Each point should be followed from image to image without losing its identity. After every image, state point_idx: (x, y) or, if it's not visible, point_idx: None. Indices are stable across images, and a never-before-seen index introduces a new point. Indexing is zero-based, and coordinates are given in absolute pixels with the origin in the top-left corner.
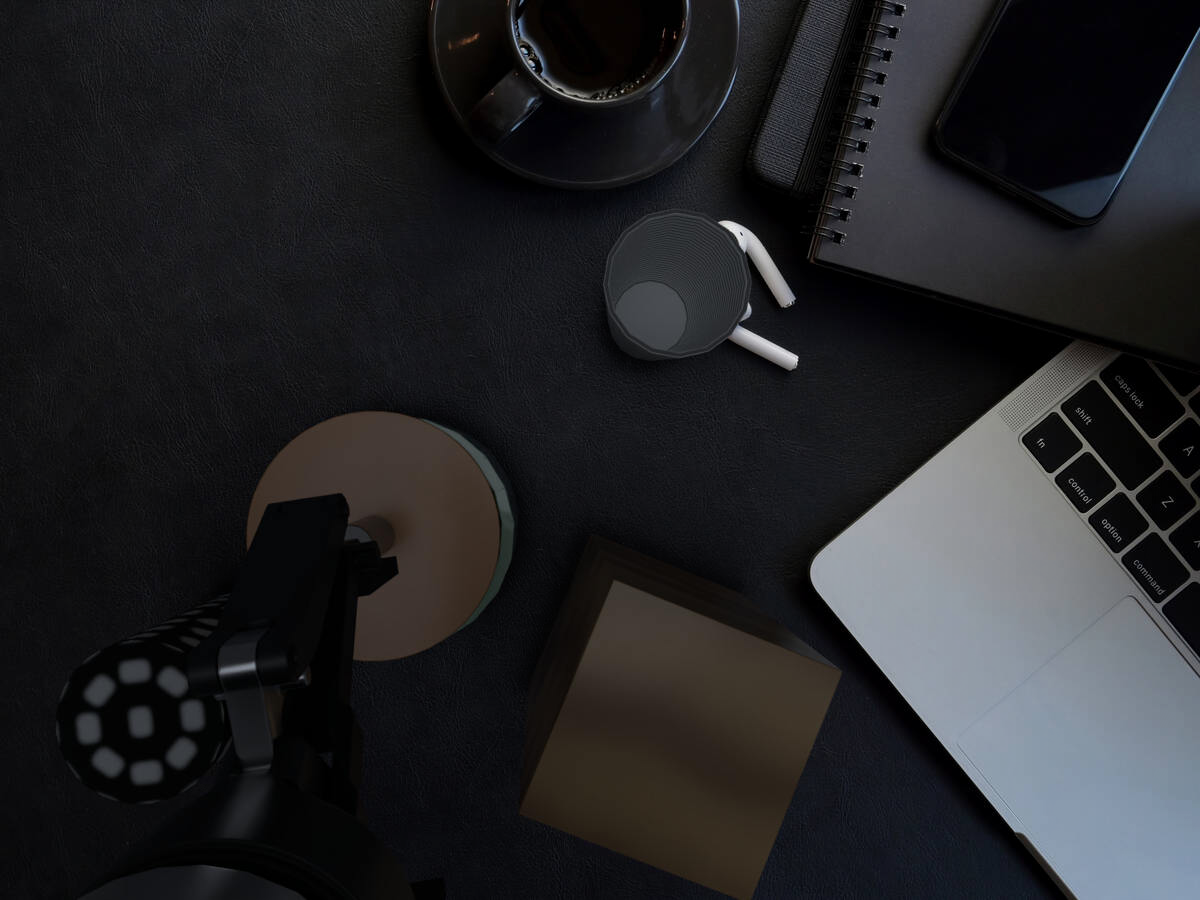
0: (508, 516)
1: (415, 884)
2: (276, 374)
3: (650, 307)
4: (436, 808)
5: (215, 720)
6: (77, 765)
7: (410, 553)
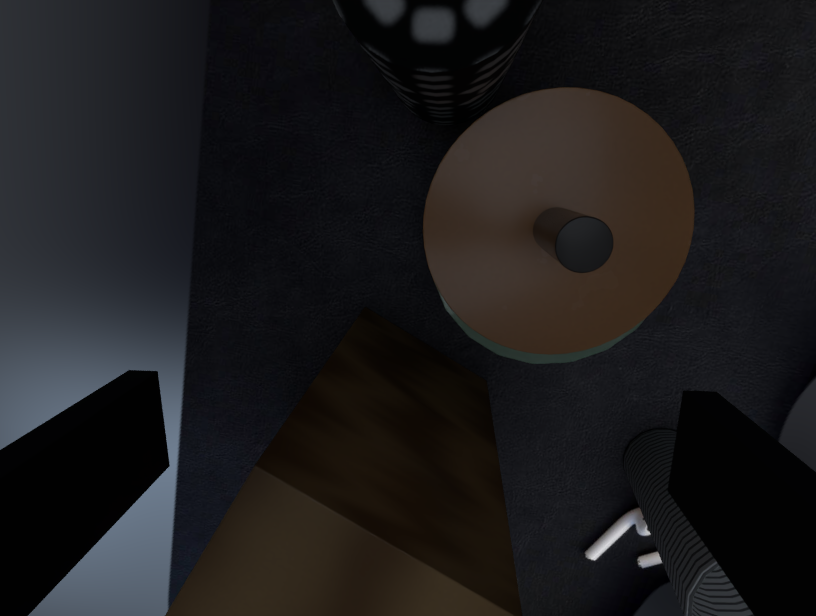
0: (541, 360)
1: (159, 429)
2: (707, 120)
3: None
4: (267, 207)
5: (421, 58)
6: None
7: (528, 264)
